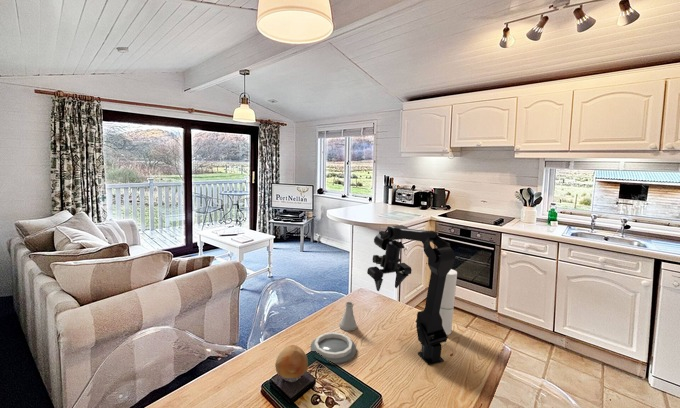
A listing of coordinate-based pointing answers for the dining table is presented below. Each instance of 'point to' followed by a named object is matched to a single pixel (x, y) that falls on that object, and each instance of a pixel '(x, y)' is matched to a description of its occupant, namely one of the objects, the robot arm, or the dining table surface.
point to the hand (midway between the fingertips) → (386, 289)
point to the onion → (291, 362)
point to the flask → (348, 318)
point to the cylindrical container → (448, 301)
